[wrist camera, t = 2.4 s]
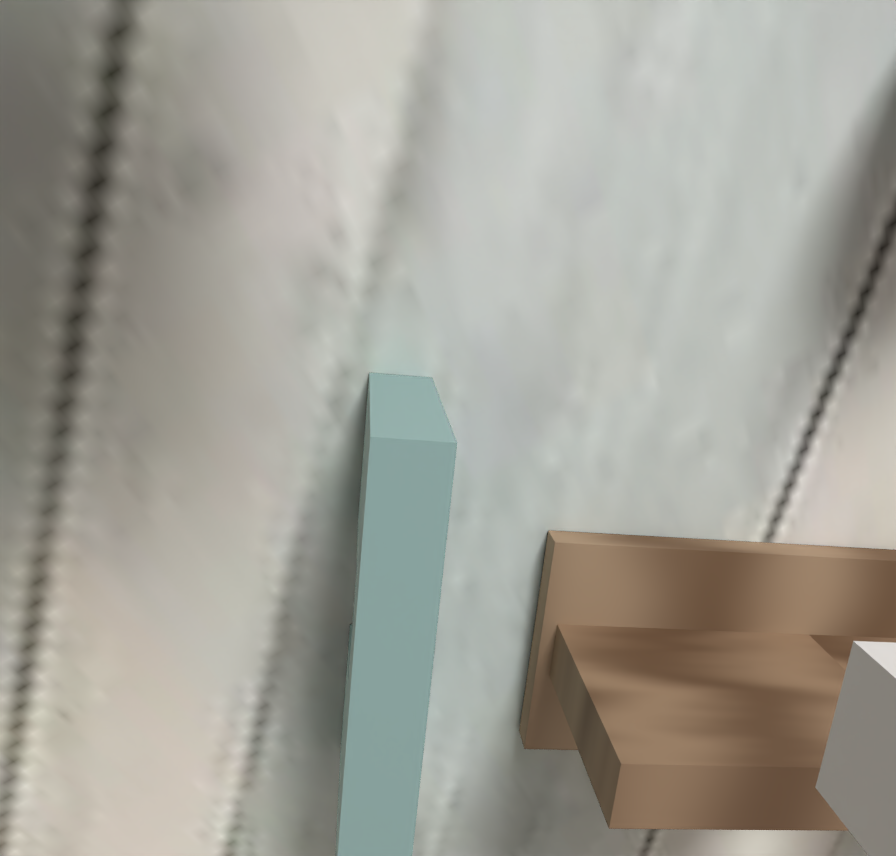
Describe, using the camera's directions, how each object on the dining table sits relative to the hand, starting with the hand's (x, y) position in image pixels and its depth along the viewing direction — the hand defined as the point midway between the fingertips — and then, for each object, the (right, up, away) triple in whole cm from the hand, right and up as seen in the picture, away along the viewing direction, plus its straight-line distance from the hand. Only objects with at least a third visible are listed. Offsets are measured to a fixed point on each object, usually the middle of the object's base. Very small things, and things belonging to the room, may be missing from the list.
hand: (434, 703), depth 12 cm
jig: (+15, -4, +18) cm, 23 cm away
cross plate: (-2, -1, +15) cm, 15 cm away
